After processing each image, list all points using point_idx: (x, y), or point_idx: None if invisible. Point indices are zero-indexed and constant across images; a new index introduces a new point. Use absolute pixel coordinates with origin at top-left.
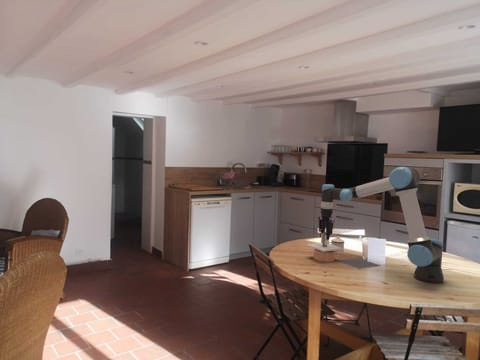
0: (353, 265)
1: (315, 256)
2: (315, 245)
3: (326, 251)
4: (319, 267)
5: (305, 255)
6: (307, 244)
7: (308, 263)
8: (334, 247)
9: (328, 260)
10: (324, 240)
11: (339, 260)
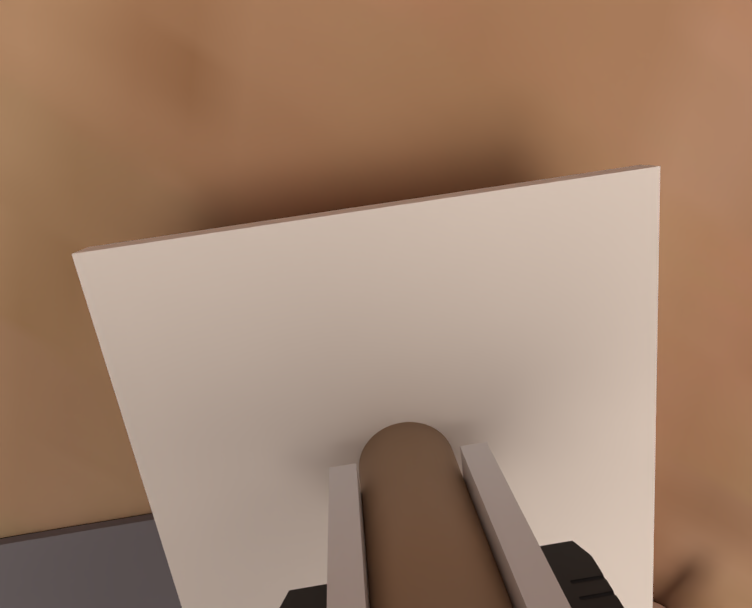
0: (51, 568)
1: None
2: (507, 304)
3: None
4: (11, 76)
5: None
6: (650, 167)
7: (241, 11)
8: (280, 593)
9: None
10: (384, 526)
11: None
